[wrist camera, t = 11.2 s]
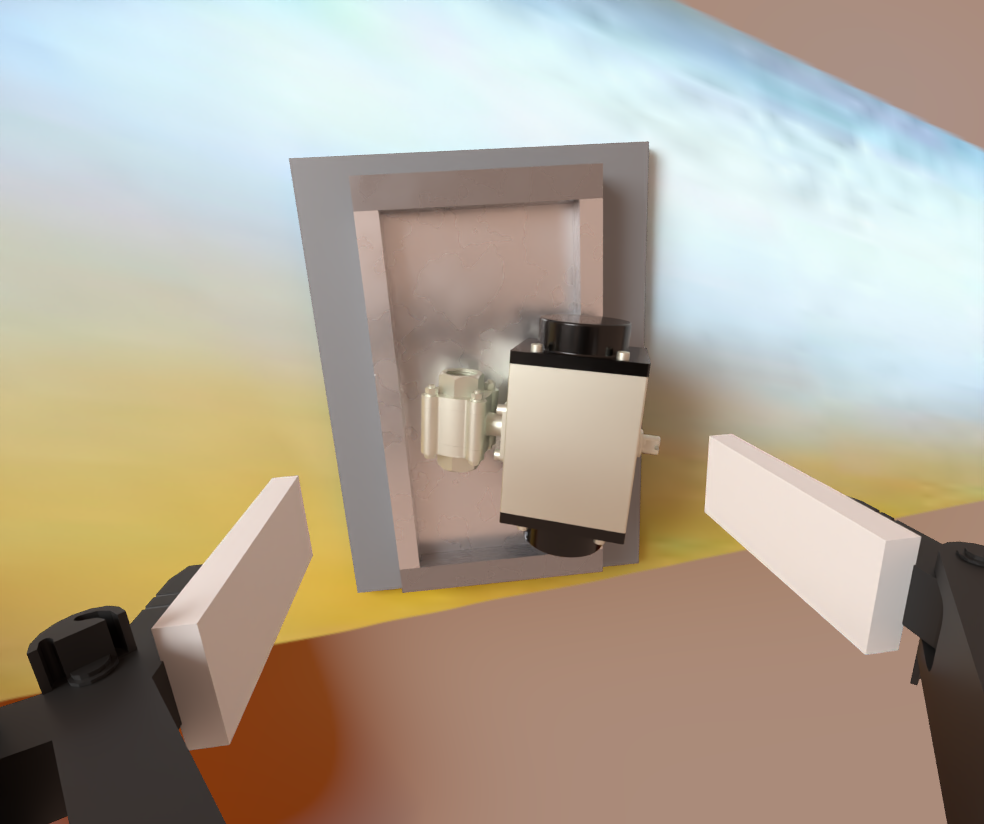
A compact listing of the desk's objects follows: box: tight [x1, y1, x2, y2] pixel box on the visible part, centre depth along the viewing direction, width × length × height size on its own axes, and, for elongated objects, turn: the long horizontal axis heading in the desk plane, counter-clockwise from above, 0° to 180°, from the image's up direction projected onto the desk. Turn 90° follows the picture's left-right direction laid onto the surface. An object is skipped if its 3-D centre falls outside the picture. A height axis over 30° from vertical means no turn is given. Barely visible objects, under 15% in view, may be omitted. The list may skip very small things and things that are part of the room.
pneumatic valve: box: [421, 314, 660, 558], centre depth 26 cm, size 6×12×12 cm
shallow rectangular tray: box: [349, 163, 603, 593], centre depth 28 cm, size 12×23×2 cm, turn 3°
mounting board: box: [289, 142, 649, 593], centre depth 30 cm, size 19×26×1 cm
